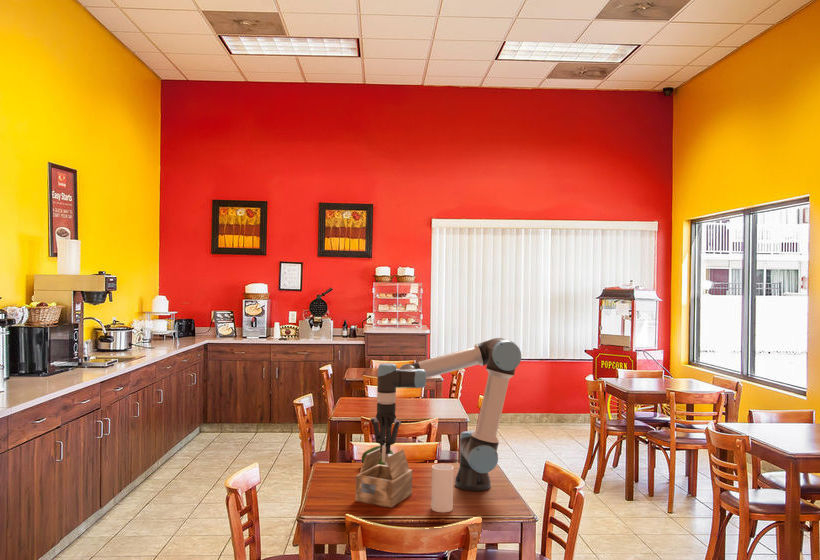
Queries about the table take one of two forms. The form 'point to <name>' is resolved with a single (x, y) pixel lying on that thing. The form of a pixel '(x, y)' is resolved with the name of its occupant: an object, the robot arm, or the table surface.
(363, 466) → the flap
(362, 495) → the wooden box
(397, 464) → the flap
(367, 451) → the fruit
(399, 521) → the table surface
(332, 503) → the table surface
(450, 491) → the cup
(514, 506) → the table surface
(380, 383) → the robot arm
